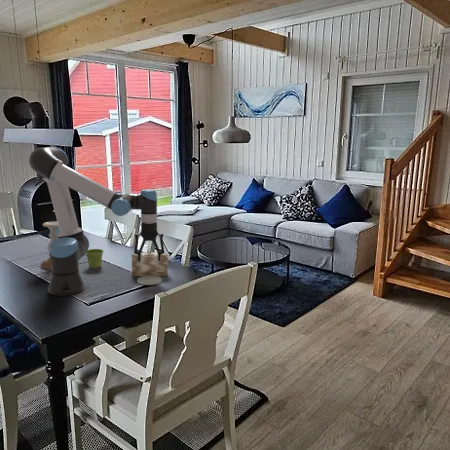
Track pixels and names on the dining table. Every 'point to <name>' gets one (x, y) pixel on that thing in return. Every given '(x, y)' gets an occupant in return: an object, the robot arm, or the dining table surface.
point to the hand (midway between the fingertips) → (149, 267)
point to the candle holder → (53, 235)
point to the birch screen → (159, 272)
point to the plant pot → (94, 257)
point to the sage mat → (149, 280)
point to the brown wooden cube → (149, 260)
